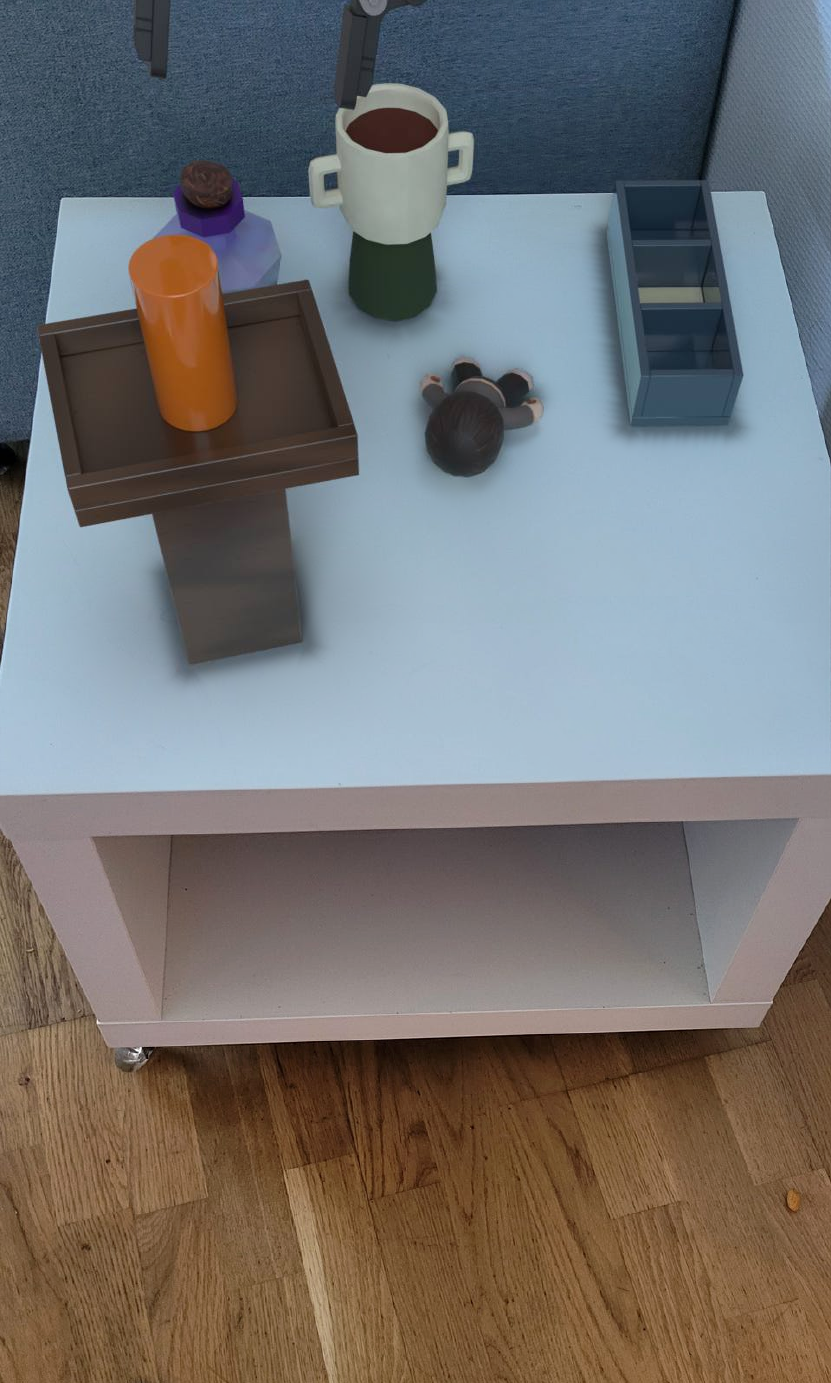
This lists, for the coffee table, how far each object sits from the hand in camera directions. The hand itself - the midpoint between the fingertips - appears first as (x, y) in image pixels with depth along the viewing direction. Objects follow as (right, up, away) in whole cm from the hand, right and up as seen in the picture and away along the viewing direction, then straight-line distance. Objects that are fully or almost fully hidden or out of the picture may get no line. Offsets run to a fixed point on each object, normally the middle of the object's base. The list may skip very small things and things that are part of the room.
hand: (252, 90), depth 59 cm
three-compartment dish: (+25, +3, +32) cm, 41 cm away
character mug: (+6, +6, +33) cm, 34 cm away
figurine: (+11, -6, +28) cm, 30 cm away
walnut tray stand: (-4, -19, +21) cm, 29 cm away
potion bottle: (-6, +2, +31) cm, 32 cm away
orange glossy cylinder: (-4, -12, +6) cm, 14 cm away
